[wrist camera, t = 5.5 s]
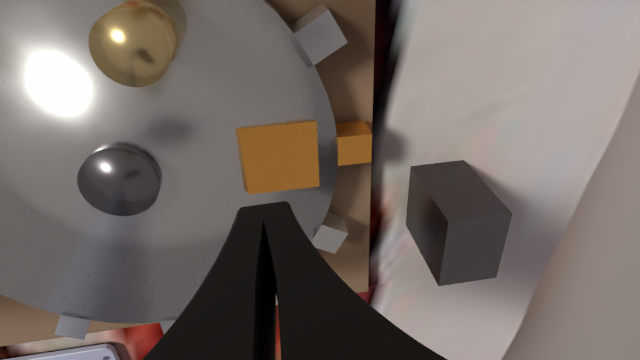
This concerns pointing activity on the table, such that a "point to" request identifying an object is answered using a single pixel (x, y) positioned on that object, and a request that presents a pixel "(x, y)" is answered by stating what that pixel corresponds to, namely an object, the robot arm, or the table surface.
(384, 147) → the table surface
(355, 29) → the base
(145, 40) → the sprocket wheel
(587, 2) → the table surface
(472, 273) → the brushed metal cube
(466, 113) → the table surface
